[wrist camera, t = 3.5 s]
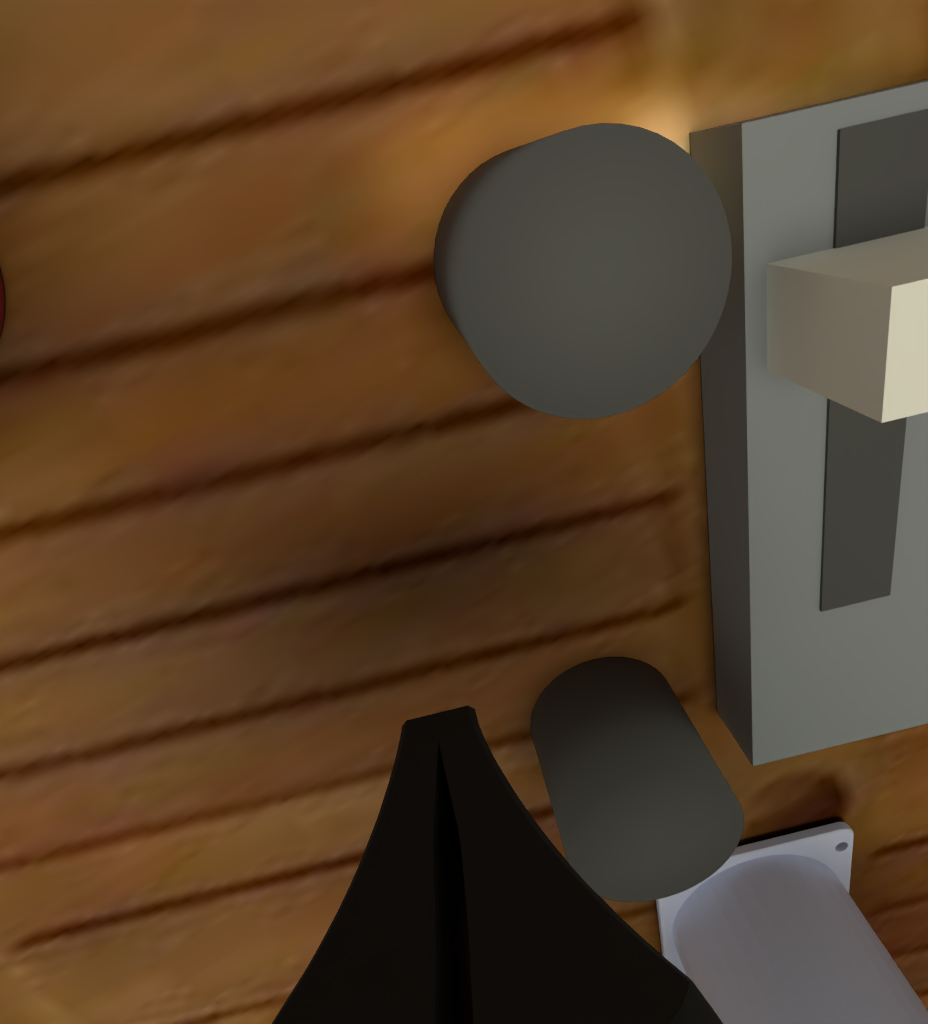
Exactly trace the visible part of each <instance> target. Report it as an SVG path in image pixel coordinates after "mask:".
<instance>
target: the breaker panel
mask: <svg viewBox="0 0 928 1024" xmlns="http://www.w3.org/2000/svg"><path fill="white" fill-rule="evenodd" d="M690 148H691V157H692V158H693V159H694V160H695V161H696V162H697V163H698V164H699V165H700V166H701V167H702V169H703V170H704V171H705V173H706V174H707V176H708V177H709V179H710V180H711V182H712V183H713V185H714V187H715V189H716V191H717V193H718V195H719V197H720V199H721V201H722V204H723V207H724V210H725V213H726V216H727V220H728V225H729V230H730V235H731V247H732V268H731V278H730V284H729V290H728V295H727V298H726V302H725V305H724V309H723V312H722V314H721V317H720V319H719V322H718V324H717V327H716V329H715V331H714V333H713V335H712V336H711V338H710V340H709V342H708V344H707V345H706V347H705V348H704V350H703V351H702V353H701V354H700V359H701V380H702V401H703V422H704V443H705V465H706V486H707V507H708V528H709V549H710V570H711V591H712V612H713V633H714V655H715V676H716V697H717V712H718V714H719V715H720V717H721V718H722V720H723V721H724V723H725V724H726V726H727V727H728V729H729V730H730V732H731V733H732V735H733V737H734V738H735V740H736V741H737V743H738V744H739V746H740V747H741V749H742V750H743V752H744V753H745V755H746V756H747V758H748V759H749V761H750V762H751V764H752V765H753V766H756V765H760V764H764V763H768V762H772V761H776V760H780V759H784V758H788V757H792V756H796V755H800V754H805V753H809V752H813V751H817V750H821V749H825V748H829V747H833V746H837V745H841V744H845V743H849V742H853V741H858V740H862V739H866V738H870V737H874V736H878V735H882V734H886V733H890V732H894V731H898V730H902V729H906V728H911V727H915V726H919V725H923V724H927V723H928V79H926V80H921V81H917V82H913V83H908V84H904V85H899V86H895V87H891V88H886V89H882V90H877V91H873V92H869V93H864V94H860V95H855V96H851V97H847V98H842V99H838V100H834V101H829V102H825V103H820V104H816V105H812V106H807V107H803V108H798V109H794V110H790V111H785V112H781V113H776V114H772V115H768V116H763V117H759V118H754V119H750V120H746V121H741V122H737V123H733V124H728V125H724V126H719V127H715V128H711V129H706V130H702V131H697V132H693V133H690Z"/></svg>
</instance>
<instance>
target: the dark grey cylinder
mask: <svg viewBox="0 0 928 1024" xmlns="http://www.w3.org/2000/svg"><path fill="white" fill-rule="evenodd" d="M531 734H532V737H533V741H534V744H535V748H536V751H537V755H538V758H539V762H540V765H541V769H542V772H543V776H544V779H545V783H546V786H547V790H548V793H549V797H550V800H551V804H552V807H553V811H554V814H555V818H556V821H557V825H558V828H559V832H560V835H561V839H562V842H563V846H564V849H565V853H566V856H567V860H568V863H569V864H570V865H571V866H572V867H573V869H574V870H575V871H576V872H577V873H578V874H579V875H580V876H581V878H582V879H583V880H584V881H585V882H586V883H587V884H588V885H589V886H590V887H591V888H592V889H593V890H594V891H595V892H596V893H597V894H598V895H599V896H600V897H603V898H606V899H610V900H615V901H622V902H643V901H652V900H657V899H662V898H666V897H669V896H672V895H675V894H678V893H681V892H683V891H685V890H688V889H690V888H692V887H694V886H696V885H697V884H699V883H701V882H702V881H704V880H705V879H707V878H708V877H710V876H711V875H712V874H714V873H715V872H716V871H717V870H718V869H719V868H721V867H722V865H723V864H724V863H725V862H726V861H727V860H728V859H729V858H730V856H731V855H732V854H733V852H734V851H735V849H736V847H737V845H738V843H739V841H740V838H741V836H742V832H743V825H744V817H743V811H742V808H741V805H740V803H739V801H738V800H737V798H736V796H735V795H734V793H733V791H732V790H731V788H730V786H729V785H728V783H727V781H726V779H725V778H724V776H723V774H722V773H721V771H720V769H719V768H718V766H717V764H716V763H715V761H714V759H713V758H712V756H711V754H710V752H709V751H708V749H707V747H706V746H705V744H704V742H703V741H702V739H701V737H700V736H699V734H698V732H697V731H696V729H695V727H694V726H693V724H692V722H691V720H690V719H689V717H688V715H687V714H686V712H685V710H684V709H683V707H682V705H681V704H680V702H679V700H678V699H677V697H676V695H675V694H674V692H673V690H672V688H671V687H670V685H669V683H668V682H667V680H666V679H665V677H664V676H663V675H662V674H661V673H660V672H659V671H658V670H657V669H655V668H654V667H652V666H651V665H649V664H647V663H645V662H642V661H640V660H636V659H633V658H626V657H604V658H598V659H593V660H590V661H587V662H584V663H581V664H579V665H576V666H574V667H572V668H570V669H569V670H567V671H565V672H564V673H562V674H561V675H559V676H558V677H557V678H556V679H554V680H553V681H552V682H551V683H550V684H549V685H548V686H547V687H546V688H545V689H544V691H543V692H542V694H541V695H540V696H539V698H538V700H537V702H536V704H535V706H534V709H533V712H532V716H531Z"/></svg>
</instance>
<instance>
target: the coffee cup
mask: <svg viewBox="0 0 928 1024" xmlns="http://www.w3.org/2000/svg"><path fill="white" fill-rule="evenodd" d="M4 316H5V292H4V285H3V279H2V274H1V270H0V335H1V332H2V328H3V323H4Z"/></svg>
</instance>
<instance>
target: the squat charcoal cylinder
mask: <svg viewBox="0 0 928 1024" xmlns="http://www.w3.org/2000/svg"><path fill="white" fill-rule="evenodd" d="M731 268H732V247H731V235H730V230H729V225H728V220H727V216H726V213H725V210H724V207H723V204H722V201H721V199H720V197H719V195H718V193H717V191H716V189H715V187H714V185H713V183H712V182H711V180H710V179H709V177H708V176H707V174H706V173H705V171H704V170H703V169H702V167H701V166H700V165H699V164H698V163H697V162H696V161H695V160H694V159H693V158H692V157H691V156H690V155H689V154H688V153H687V152H686V151H684V150H683V149H682V148H681V147H679V146H678V145H677V144H675V143H674V142H672V141H670V140H669V139H667V138H665V137H663V136H661V135H659V134H658V133H655V132H652V131H649V130H646V129H644V128H641V127H636V126H631V125H625V124H611V123H600V124H592V125H585V126H580V127H576V128H573V129H569V130H566V131H562V132H560V133H557V134H554V135H551V136H548V137H545V138H542V139H540V140H537V141H534V142H531V143H528V144H525V145H522V146H519V147H517V148H514V149H511V150H508V151H505V152H503V153H501V154H499V155H497V156H494V157H493V158H491V159H489V160H488V161H486V162H485V163H483V164H481V165H480V166H479V167H478V168H477V169H475V170H474V171H473V172H472V173H471V174H469V176H468V177H467V178H466V179H465V180H464V181H463V182H462V183H461V184H460V186H459V187H458V188H457V190H456V191H455V193H454V194H453V196H452V197H451V199H450V201H449V202H448V204H447V206H446V208H445V210H444V213H443V215H442V218H441V220H440V223H439V226H438V231H437V235H436V239H435V247H434V273H435V281H436V285H437V289H438V293H439V296H440V299H441V301H442V304H443V306H444V309H445V310H446V312H447V314H448V316H449V318H450V319H451V321H452V322H453V324H454V325H455V327H456V328H457V330H458V331H459V333H460V334H461V336H462V337H463V339H464V340H465V342H466V343H467V344H468V346H469V347H470V349H471V350H472V352H473V353H474V355H475V356H476V358H477V359H478V361H479V362H480V364H481V365H482V366H483V368H484V369H485V370H486V372H487V373H488V374H489V376H490V377H491V378H492V379H493V380H494V381H495V382H496V383H497V384H498V385H499V386H500V387H501V388H502V389H503V390H504V391H505V392H507V393H508V394H509V395H511V396H512V397H513V398H514V399H516V400H517V401H519V402H521V403H523V404H525V405H526V406H528V407H530V408H532V409H535V410H537V411H540V412H542V413H545V414H549V415H553V416H557V417H561V418H571V419H595V418H602V417H608V416H612V415H616V414H619V413H623V412H626V411H629V410H631V409H633V408H636V407H638V406H641V405H643V404H644V403H646V402H648V401H650V400H651V399H653V398H655V397H657V396H658V395H659V394H661V393H662V392H664V391H665V390H666V389H668V388H669V387H670V386H672V385H673V384H674V383H675V382H676V381H677V380H678V379H679V378H680V377H681V376H683V375H684V374H685V372H686V371H687V370H688V369H689V368H690V367H691V366H692V364H693V363H694V362H695V361H696V360H697V358H698V357H699V355H700V354H701V353H702V351H703V350H704V348H705V347H706V345H707V344H708V342H709V340H710V338H711V336H712V335H713V333H714V331H715V329H716V327H717V324H718V322H719V319H720V317H721V314H722V312H723V309H724V305H725V302H726V298H727V295H728V290H729V284H730V278H731Z"/></svg>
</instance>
